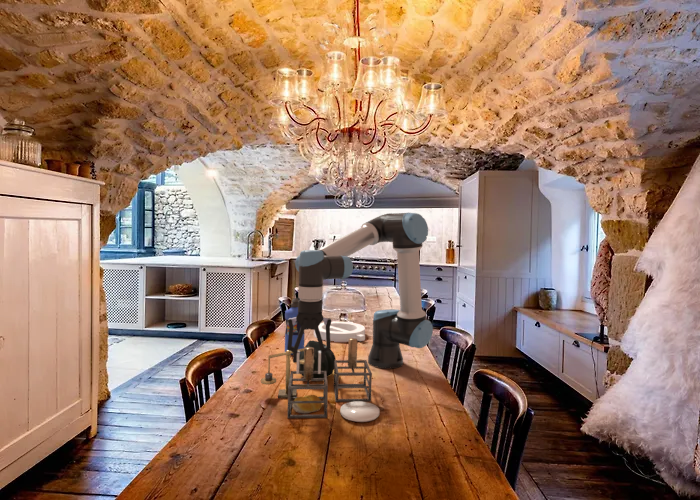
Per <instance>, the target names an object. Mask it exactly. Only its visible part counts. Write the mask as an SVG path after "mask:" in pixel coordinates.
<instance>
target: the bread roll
mask: <svg viewBox="0 0 700 500" xmlns="http://www.w3.org/2000/svg"><path fill="white" fill-rule="evenodd" d="M296 397H297V398H296V399H295V400H293V401H322V400H320V398H319V397H320V396H317V395H316V394H309V395H308V394H307V395H305V396H296ZM322 406H323V403H292V409H293V410H294V411H295V412H296V413H298V414H304V415H307V414H310V413H313V412H314V413H315V412H318V411H320V409H322Z"/></svg>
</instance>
